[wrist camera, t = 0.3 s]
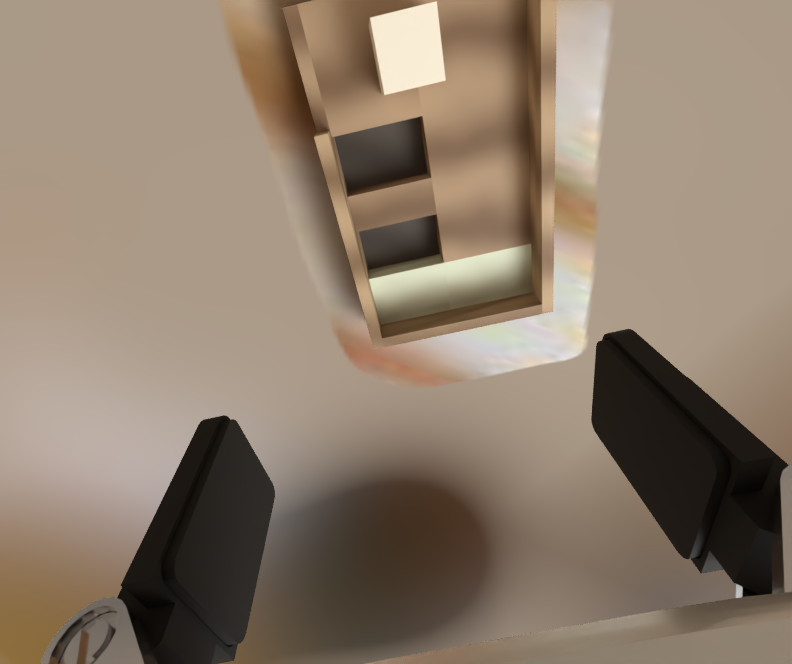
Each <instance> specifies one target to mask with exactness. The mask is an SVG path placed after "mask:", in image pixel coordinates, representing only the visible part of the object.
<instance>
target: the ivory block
mask: <svg viewBox="0 0 792 664" xmlns="http://www.w3.org/2000/svg"><path fill="white" fill-rule="evenodd" d="M369 31H370V36H371V41H372V46H373V52H374V57H375V62H376V67H377V73H378V78H379V83H380V88H381V94H383V95H387V94H391V93H396V92H400V91H404V90H408V89H412V88H417V87H421V86H425V85H429V84H433V83H438V82H442V81H446V78H445V70H444V61H443V52H442V43H441V34H440V26H439V17H438V8H437V1H436V2H432V3H427V4H423V5H419V6H415V7H411V8H407V9H403V10H399V11H395V12H391V13H387V14H383V15H379V16H375V17H371V18H370V21H369Z"/></svg>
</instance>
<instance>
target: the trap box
mask: <svg viewBox="0 0 792 664" xmlns="http://www.w3.org/2000/svg"><path fill="white" fill-rule="evenodd" d="M436 1H437V8H438V17H439V26H440V34H441V43H442V52H443V61H444V70H445V78H446V81H442V82H438V83H433V84H429V85H425V86H421V87H417V88H412V89H408V90H404V91H400V92H396V93H391V94H387V95H383V94H381V88H380V83H379V78H378V73H377V67H376V62H375V57H374V52H373V46H372V41H371V36H370V31H369V21H370V18H371V17H375V16H379V15H383V14H387V13H391V12H395V11H399V10H403V9H407V8H411V7H415V6H419V5H423V4H427V3H432V2H436ZM282 9H283V12H284V16H285V20H286V23H287V27H288V30H289V34H290V38H291V41H292V45H293V48H294V52H295V56H296V59H297V63H298V66H299V70H300V74H301V77H302V81H303V84H304V88H305V92H306V95H307V99H308V102H309V106H310V110H311V113H312V117H313V120H314V124H315V128H316V131H317V134H316V135H315V136H314V139H315V143H316V146H317V150H318V153H319V157H320V160H321V164H322V168H323V171H324V175H325V178H326V182H327V185H328V189H329V192H330V196H331V199H332V203H333V206H334V210H335V213H336V217H337V221H338V224H339V228H340V231H341V235H342V238H343V242H344V245H345V249H346V252H347V256H348V259H349V263H350V266H351V270H352V273H353V277H354V281H355V284H356V288H357V291H358V295H359V298H360V302H361V305H362V309H363V312H364V316H365V319H366V323H367V326H368V330H369V334H370V337H371V341H372V344H373V348H374V349H378V348H383V347H388V346H393V345H397V344H402V343H407V342H411V341H416V340H421V339H426V338H430V337H435V336H440V335H444V334H449V333H454V332H459V331H463V330H468V329H473V328H477V327H482V326H487V325H491V324H496V323H501V322H506V321H510V320H515V319H520V318H524V317H529V316H534V315H539V314H543V313H548V312H553V267H554V182H555V97H556V11H557V0H312V1H308V2H304V3H300V4H296V5H292V6H288V7H284V8H282Z"/></svg>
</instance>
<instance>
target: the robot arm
mask: <svg viewBox="0 0 792 664" xmlns="http://www.w3.org/2000/svg"><path fill="white" fill-rule="evenodd" d="M592 425H593V428H594V430H595V432H596V434H597V435H598V437H599V438H600V440H601V441H602V442H603V444H604V445H605V447H606V448H607V450H608V451H609V453H610V454H611V456H612V457H613V458H614V460H615V461H616V462H617V464H618V466H619V467H620V469H621V470H622V471H623V473H624V474H625V476H626V477H627V479H628V480H629V482H630V483H631V484H632V486H633V487H634V489H635V490H636V492H637V493H638V495H639V496H640V498H641V499H642V501H643V502H644V503H645V505H646V506H647V508H648V509H649V511H650V512H651V513H652V515H653V517H654V518H655V519H656V521H657V522H658V524H659V525H660V527H661V528H662V530H663V531H664V532H665V534H666V535H667V537H668V538H669V540H670V541H671V543H672V544H673V546H674V547H675V549H676V550H677V551H678V553H679V554H680V555H681V556H682V557H683V558H685V559H690V558H691V560H692V561H693V563H694V564H695V566H696V567H697V568H698V570H699V571H700V573H707V572H712V571H717V570H723V569H724V570H725V572H726V573H727V574H728V575H729V577H730V578H731V579H732V581H733V582H734V583H736V598H734V599H728V600H722V601H715V602H709V603H703V604H696V605H690V606H684V607H677V608H671V609H665V610H659V611H653V612H647V613H642V614H636V615H630V616H625V617H619V618H614V619H608V620H602V621H597V622H591V623H585V624H580V625H574V626H569V627H563V628H557V629H552V630H546V631H541V632H535V633H530V634H524V635H518V636H513V637H507V638H502V639H497V640H491V641H485V642H480V643H474V644H469V645H464V646H458V647H452V648H447V649H442V650H436V651H431V652H425V653H420V654H415V655H409V656H404V657H398V658H393V659H388V660H382V661H376V662H371V663H366V664H792V464H790V465H788V464H787V463H785V462H784V461H783V460H782V459H781V458H780V457H779V456H778V455H776V454H775V453H774V452H773V451H772V450H771V449H770V448H768V447H767V446H766V445H765V444H764V443H763V442H762V441H760V440H759V439H758V438H757V437H756V436H755V435H754V434H752V433H751V432H750V431H749V430H748V429H747V428H746V427H744V426H743V425H742V424H741V423H740V422H739V421H737V420H736V419H735V418H734V417H733V416H732V415H731V414H729V413H728V412H727V411H726V410H725V409H724V408H723V407H721V406H720V405H719V404H718V403H717V402H716V401H715V400H713V399H712V398H711V397H710V396H709V395H708V394H707V393H705V392H704V391H703V390H702V389H701V388H700V387H698V386H697V385H696V384H695V383H694V382H693V381H692V380H691V379H689V378H688V377H686V376H685V375H683V374H682V373H681V372H680V371H679V370H678V369H677V368H675V367H674V366H673V365H672V364H671V363H670V362H669V361H668V360H666V359H665V358H664V357H663V356H662V355H661V354H660V353H658V352H657V351H656V350H655V349H654V348H653V347H651V346H650V345H649V344H648V343H647V342H646V341H644V339H642V338H641V337H640V336H639V335H638V334H637V333H636V332H634V331H633V330H631V329H626V330H621V331H617V332H612V333H608V334H605V335H604V337H603V339H602V341H599V342H598V343H597V346H596V359H595V374H594V389H593V403H592ZM274 498H275V491H274V486H273V483H272V482H271V480H270V478H269V477H268V475H267V473H266V471H265V470H264V468H263V466H262V465H261V463H260V461H259V459H258V457H257V456H256V454H255V452H254V450H253V449H252V447H251V445H250V443H249V442H248V440H247V438H246V437H245V435H244V433H243V431H242V430H241V428H240V426H239V424H238V423H237V421H236V420H230V419H229V418H228V417H227V416H220V417H215V418H210V419H205V420H203V421H201V422H200V424H199V425H198V427H197V430H196V432H195V434H194V436H193V438H192V440H191V442H190V444H189V446H188V448H187V450H186V452H185V454H184V456H183V458H182V460H181V462H180V464H179V467H178V469H177V471H176V473H175V475H174V477H173V479H172V481H171V483H170V485H169V487H168V489H167V491H166V493H165V495H164V497H163V499H162V501H161V504H160V506H159V508H158V510H157V512H156V514H155V516H154V518H153V520H152V522H151V524H150V526H149V528H148V530H147V532H146V534H145V536H144V539H143V541H142V543H141V545H140V547H139V549H138V551H137V553H136V555H135V557H134V559H133V561H132V563H131V565H130V567H129V570H128V572H127V573H126V576H125V578H124V580H123V582H122V584H121V586H122V589H121V591H120V593H119V595H118V597H117V598H115V597H109V598H103V599H100V600H98V601H95V602H93V603H91V604H89V605H88V606H86V607H85V608H83V609H82V610H80V611H79V612H77V613H76V614H75V615H74V616H73V617H72V618H71V619H70V620H69V621H67V622H66V623H65V625H64V626H63V627H62V628H61V629H60V630H59V632H58V633H57V634H56V635H55V636H54V638H53V640H52V641H51V643H50V644H49V646H48V648H47V649H46V651H45V654H44V656H43V658H42V661H41V663H40V664H218V663H223V662H229V661H234V658H235V654H236V649H237V645H238V643H241V642H242V641H243V639H244V637H245V634H246V630H247V625H248V621H249V616H250V611H251V607H252V602H253V597H254V593H255V588H256V583H257V579H258V573H259V569H260V564H261V560H262V555H263V550H264V546H265V541H266V536H267V531H268V527H269V522H270V517H271V513H272V508H273V503H274Z"/></svg>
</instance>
